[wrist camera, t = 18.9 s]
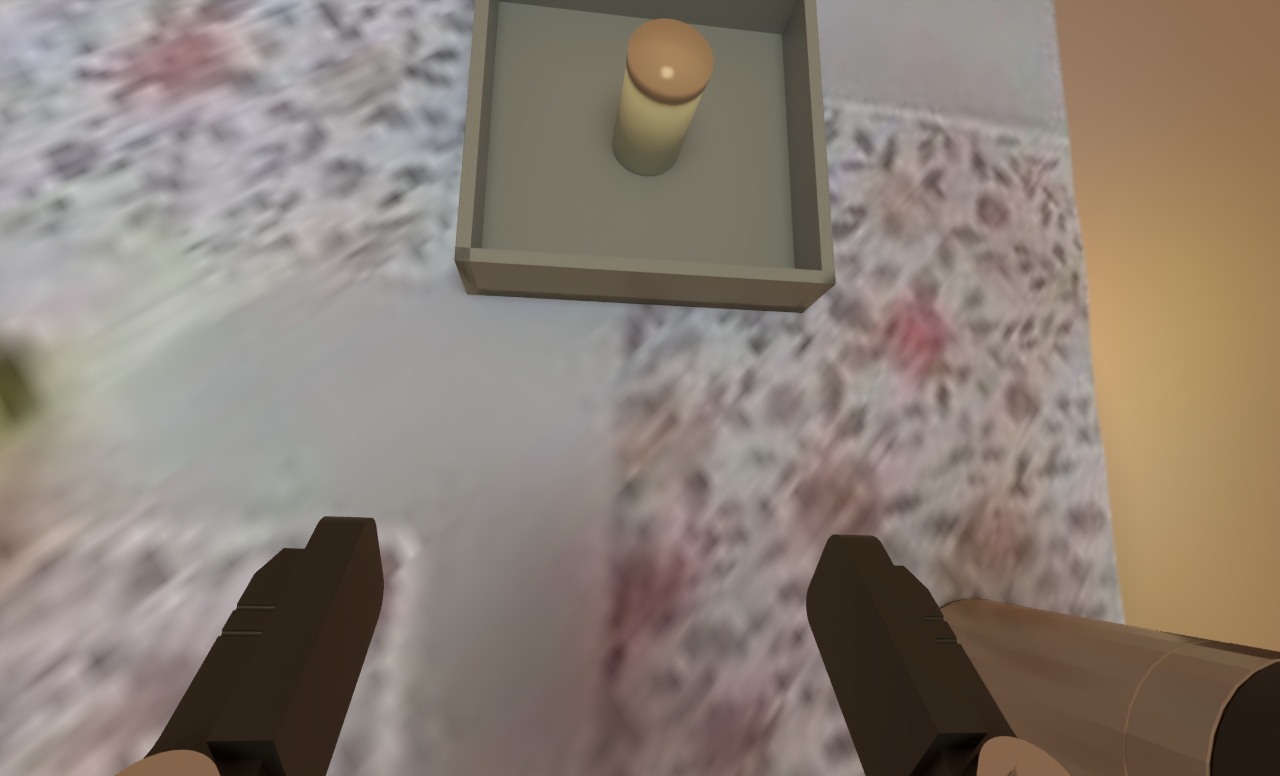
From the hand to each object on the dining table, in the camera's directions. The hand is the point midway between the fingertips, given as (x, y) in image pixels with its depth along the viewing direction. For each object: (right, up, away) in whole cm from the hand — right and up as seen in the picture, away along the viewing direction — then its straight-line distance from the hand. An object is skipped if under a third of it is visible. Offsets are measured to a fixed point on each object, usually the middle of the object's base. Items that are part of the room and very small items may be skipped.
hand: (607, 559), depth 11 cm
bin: (+1, +19, +31) cm, 36 cm away
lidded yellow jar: (+1, +19, +30) cm, 36 cm away
